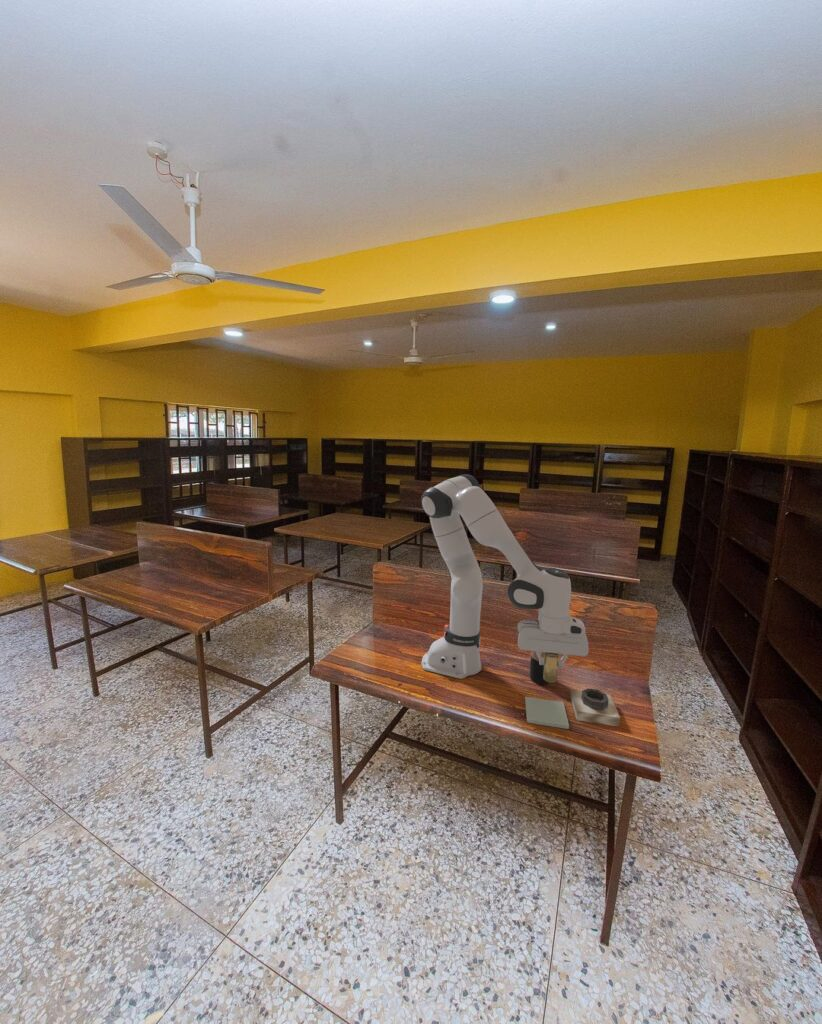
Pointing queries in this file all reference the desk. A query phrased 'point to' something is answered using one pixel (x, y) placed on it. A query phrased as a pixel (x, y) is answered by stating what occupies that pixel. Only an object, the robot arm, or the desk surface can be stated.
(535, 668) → the travel mug
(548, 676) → the brass peg
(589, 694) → the beige base with ring
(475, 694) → the desk surface
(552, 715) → the sage pad
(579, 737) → the desk surface
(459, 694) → the desk surface
